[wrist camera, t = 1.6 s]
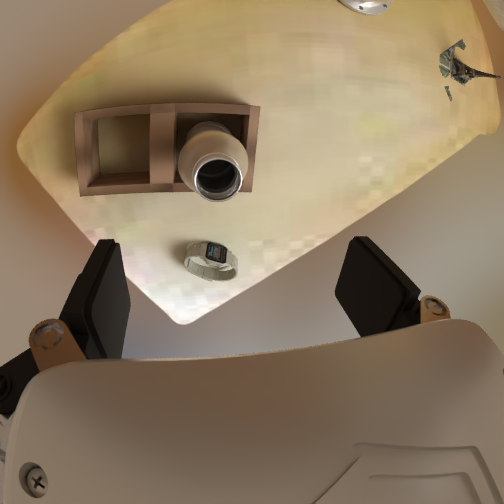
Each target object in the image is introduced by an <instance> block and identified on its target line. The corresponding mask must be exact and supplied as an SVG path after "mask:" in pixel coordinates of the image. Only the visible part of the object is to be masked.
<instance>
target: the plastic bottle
mask: <svg viewBox="0 0 504 504" xmlns="http://www.w3.org/2000/svg"><path fill="white" fill-rule="evenodd" d="M178 170H179V174H180V176H181V178H182V180H183V181H184V183H185V184H186V185H187V186H188V187H189V188H190V189H192V190H193V191H195V192H196V193H199V194H200V195H201V196H202V197H203V198H205V199H207V200H209V201H213V202H222V201H226V200H229V199H230V198H232V197H233V196H235V195H236V194H237V193H238V191H239V190H240V188H241V185H242V181H243V179H244V177H245V176H246V173H247V170H248V156H247V153H246V150H245V148H244V147H243V145H242V144H241V143H240V142H239V140H237V139H236V138H235V137H233V136H232V134H231V132H230V130H229V129H228V128H227V127H226V126H224V125H223V124H221V123H218V122H214V121H205V122H201V123H198V124H197V125H195V126H194V127H192V128H191V129H190V130H189V132H188V133H187V135H186V137H185V141H184V147H183V148H182V150H181V152H180V155H179V158H178Z"/></svg>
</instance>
